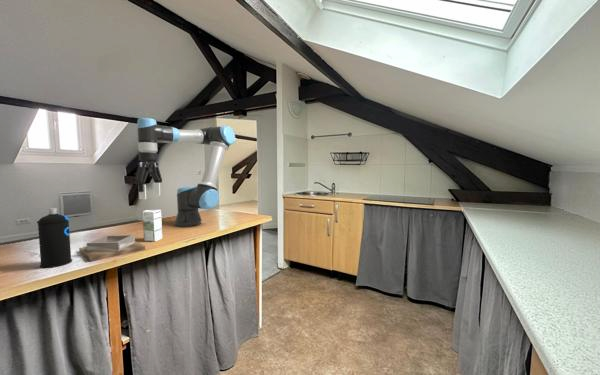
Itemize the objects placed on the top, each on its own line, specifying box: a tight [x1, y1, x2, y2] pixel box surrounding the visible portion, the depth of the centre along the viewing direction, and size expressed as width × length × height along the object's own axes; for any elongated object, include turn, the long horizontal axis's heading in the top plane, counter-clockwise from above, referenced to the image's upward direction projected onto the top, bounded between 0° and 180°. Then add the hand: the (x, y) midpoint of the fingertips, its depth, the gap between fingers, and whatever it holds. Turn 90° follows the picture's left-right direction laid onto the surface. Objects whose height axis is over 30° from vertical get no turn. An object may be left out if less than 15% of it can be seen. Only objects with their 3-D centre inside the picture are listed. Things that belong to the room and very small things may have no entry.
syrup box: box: [142, 209, 163, 242], centre depth 118 cm, size 6×6×14 cm
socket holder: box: [78, 234, 146, 263], centre depth 102 cm, size 18×18×5 cm
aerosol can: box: [36, 207, 73, 269], centre depth 87 cm, size 8×8×20 cm
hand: (150, 197), depth 117 cm, fingers open, 13 cm apart
